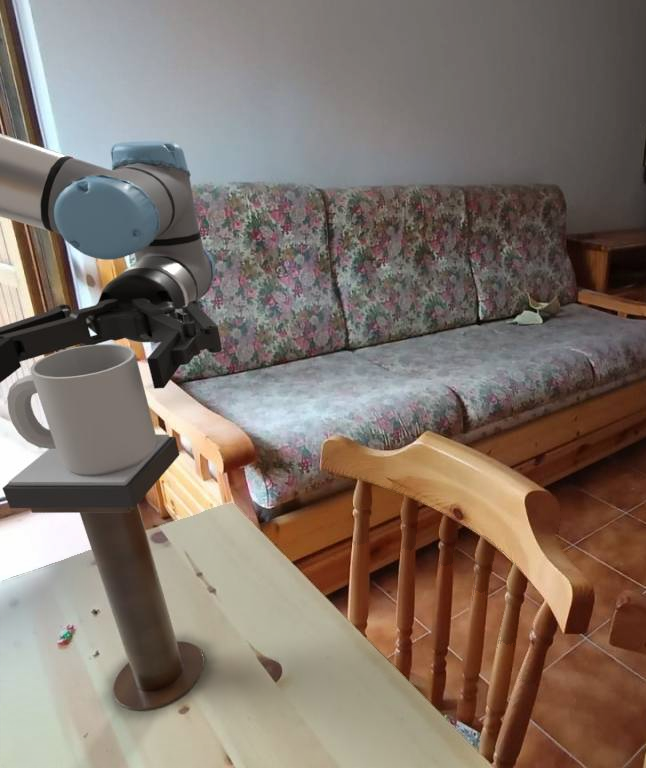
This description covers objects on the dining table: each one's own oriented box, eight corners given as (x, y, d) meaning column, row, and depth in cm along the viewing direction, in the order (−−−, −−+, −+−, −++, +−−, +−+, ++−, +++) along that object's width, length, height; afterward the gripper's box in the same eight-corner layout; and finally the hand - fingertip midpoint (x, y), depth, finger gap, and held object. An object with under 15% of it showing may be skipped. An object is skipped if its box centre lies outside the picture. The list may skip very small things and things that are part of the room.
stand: (98, 716, 62) (19, 508, 51) (141, 648, 70) (80, 454, 59) (184, 715, 62) (124, 508, 52) (218, 647, 70) (171, 454, 59)
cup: (146, 471, 52) (120, 374, 49) (8, 486, 50) (-31, 385, 46) (166, 430, 59) (145, 341, 55) (44, 441, 56) (13, 349, 53)
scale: (6, 508, 51) (-4, 483, 50) (68, 454, 59) (61, 432, 58) (134, 508, 52) (127, 483, 51) (179, 454, 59) (174, 432, 58)
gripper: (272, 326, 73) (235, 409, 55) (34, 336, 69) (-96, 430, 50) (263, 263, 70) (220, 327, 51) (12, 269, 66) (-135, 342, 47)
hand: (64, 378), depth 51 cm, fingers open, 13 cm apart
